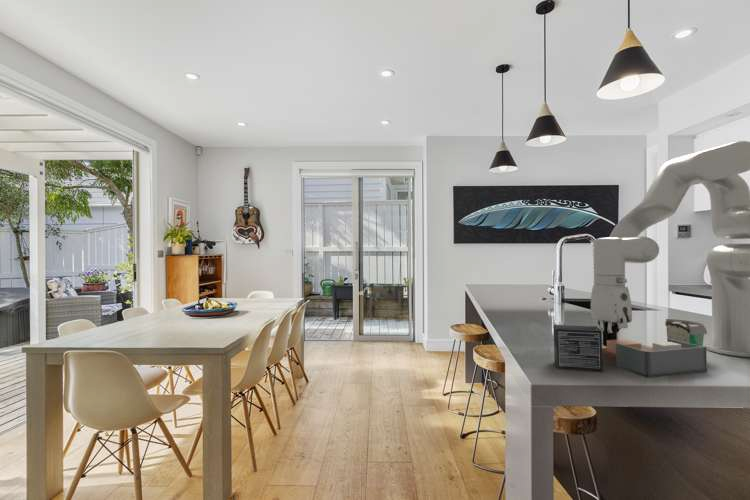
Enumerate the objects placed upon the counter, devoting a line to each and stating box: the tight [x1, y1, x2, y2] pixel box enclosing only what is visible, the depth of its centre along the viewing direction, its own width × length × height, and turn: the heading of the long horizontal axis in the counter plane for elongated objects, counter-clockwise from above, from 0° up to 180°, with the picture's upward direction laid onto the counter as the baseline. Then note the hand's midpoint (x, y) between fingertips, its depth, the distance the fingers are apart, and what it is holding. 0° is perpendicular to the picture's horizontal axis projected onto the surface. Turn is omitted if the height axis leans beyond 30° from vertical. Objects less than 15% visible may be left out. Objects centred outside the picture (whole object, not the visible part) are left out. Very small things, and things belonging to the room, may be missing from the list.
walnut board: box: [602, 342, 653, 367], centre depth 106 cm, size 18×13×2 cm
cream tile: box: [651, 341, 682, 351], centre depth 96 cm, size 6×6×3 cm
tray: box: [615, 339, 708, 379], centre depth 95 cm, size 18×9×6 cm, turn 103°
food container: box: [664, 318, 708, 346], centre depth 103 cm, size 12×6×10 cm, turn 168°
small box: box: [553, 324, 604, 373], centre depth 97 cm, size 11×6×10 cm, turn 71°
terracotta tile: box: [607, 338, 642, 354], centre depth 101 cm, size 6×6×3 cm
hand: (609, 346), depth 105 cm, fingers closed
